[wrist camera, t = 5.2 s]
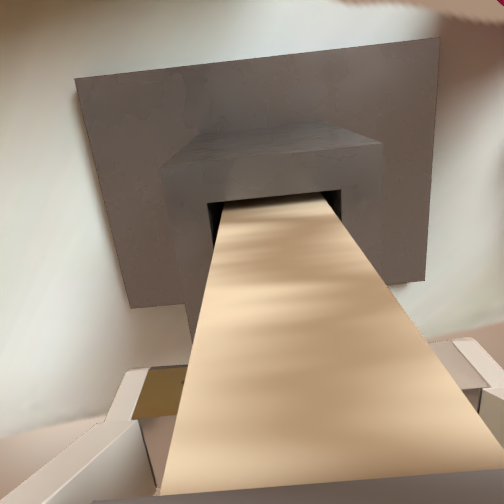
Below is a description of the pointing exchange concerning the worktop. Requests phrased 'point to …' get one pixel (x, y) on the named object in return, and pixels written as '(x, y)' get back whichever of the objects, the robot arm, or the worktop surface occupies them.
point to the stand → (263, 156)
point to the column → (315, 379)
